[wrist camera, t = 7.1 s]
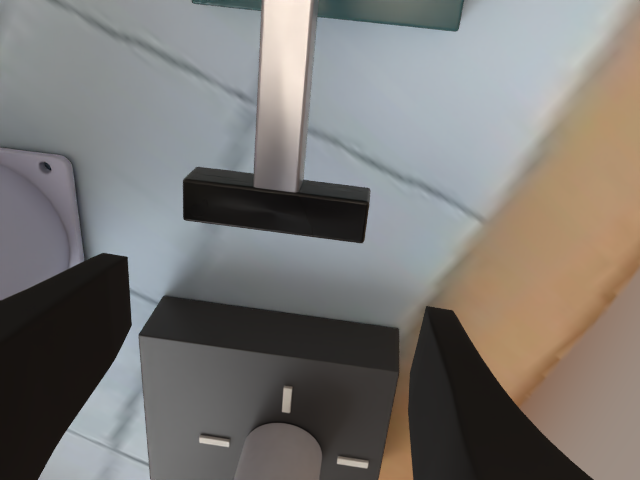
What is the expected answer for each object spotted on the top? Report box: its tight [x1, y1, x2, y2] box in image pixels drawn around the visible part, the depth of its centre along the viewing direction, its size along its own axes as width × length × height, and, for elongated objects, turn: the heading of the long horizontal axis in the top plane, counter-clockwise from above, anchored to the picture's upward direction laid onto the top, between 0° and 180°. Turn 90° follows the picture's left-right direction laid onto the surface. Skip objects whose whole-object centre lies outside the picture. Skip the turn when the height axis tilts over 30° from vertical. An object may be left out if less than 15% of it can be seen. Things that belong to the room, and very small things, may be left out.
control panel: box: [139, 296, 399, 480], centre depth 27 cm, size 11×9×3 cm
